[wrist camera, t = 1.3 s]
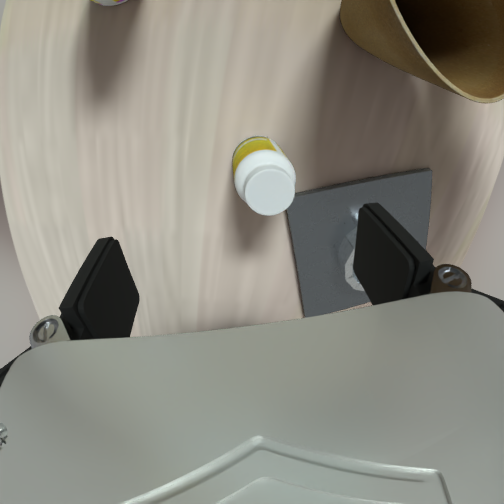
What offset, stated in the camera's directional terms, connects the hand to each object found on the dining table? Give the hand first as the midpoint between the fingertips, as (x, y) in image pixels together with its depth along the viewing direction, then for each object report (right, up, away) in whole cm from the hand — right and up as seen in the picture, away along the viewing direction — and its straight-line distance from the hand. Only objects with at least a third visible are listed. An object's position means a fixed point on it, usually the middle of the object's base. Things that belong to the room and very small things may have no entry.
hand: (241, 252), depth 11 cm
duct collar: (+16, +1, +27) cm, 32 cm away
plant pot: (+13, +25, +11) cm, 31 cm away
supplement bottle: (+1, +10, +20) cm, 22 cm away
